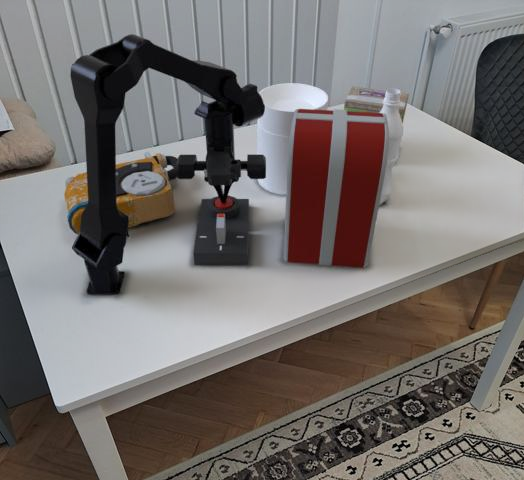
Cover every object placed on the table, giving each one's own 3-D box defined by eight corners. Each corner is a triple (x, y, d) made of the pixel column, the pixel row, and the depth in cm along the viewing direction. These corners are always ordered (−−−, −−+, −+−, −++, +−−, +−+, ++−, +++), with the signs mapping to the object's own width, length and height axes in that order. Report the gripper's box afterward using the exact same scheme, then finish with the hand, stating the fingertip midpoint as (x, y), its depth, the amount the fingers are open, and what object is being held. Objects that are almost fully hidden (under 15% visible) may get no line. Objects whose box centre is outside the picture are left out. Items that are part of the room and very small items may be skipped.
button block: (248, 231, 116) (248, 215, 113) (199, 231, 116) (197, 216, 113) (249, 206, 123) (248, 191, 120) (202, 207, 123) (200, 191, 120)
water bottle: (354, 203, 124) (370, 94, 106) (365, 189, 129) (382, 82, 110) (383, 211, 122) (405, 100, 104) (393, 196, 126) (415, 88, 108)
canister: (331, 188, 129) (341, 105, 114) (271, 200, 125) (273, 116, 110) (304, 158, 139) (309, 79, 124) (248, 169, 135) (246, 88, 120)
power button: (232, 214, 117) (232, 207, 115) (214, 214, 116) (214, 207, 115) (233, 204, 119) (233, 197, 118) (215, 204, 119) (215, 197, 118)
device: (47, 163, 120) (172, 138, 129) (58, 195, 126) (176, 170, 135) (65, 212, 106) (203, 181, 115) (76, 246, 112) (206, 214, 121)
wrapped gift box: (288, 218, 120) (294, 96, 100) (366, 223, 119) (387, 100, 99) (282, 262, 109) (287, 135, 89) (368, 268, 107) (392, 140, 88)
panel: (247, 265, 108) (247, 252, 106) (194, 265, 108) (193, 252, 106) (248, 234, 116) (248, 221, 113) (198, 234, 116) (197, 221, 113)
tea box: (337, 156, 140) (343, 100, 129) (344, 140, 146) (351, 84, 136) (393, 165, 137) (405, 107, 126) (398, 147, 144) (409, 91, 133)
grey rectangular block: (225, 244, 108) (224, 226, 105) (217, 244, 108) (216, 226, 105) (225, 230, 111) (224, 212, 108) (218, 230, 111) (217, 212, 108)
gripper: (168, 152, 100) (178, 222, 111) (266, 152, 100) (265, 222, 111) (174, 126, 107) (183, 195, 119) (265, 126, 107) (265, 195, 119)
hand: (223, 202), depth 117 cm, fingers closed, pressing on power button
